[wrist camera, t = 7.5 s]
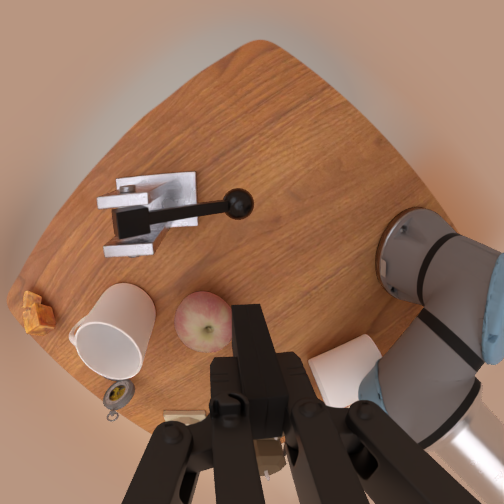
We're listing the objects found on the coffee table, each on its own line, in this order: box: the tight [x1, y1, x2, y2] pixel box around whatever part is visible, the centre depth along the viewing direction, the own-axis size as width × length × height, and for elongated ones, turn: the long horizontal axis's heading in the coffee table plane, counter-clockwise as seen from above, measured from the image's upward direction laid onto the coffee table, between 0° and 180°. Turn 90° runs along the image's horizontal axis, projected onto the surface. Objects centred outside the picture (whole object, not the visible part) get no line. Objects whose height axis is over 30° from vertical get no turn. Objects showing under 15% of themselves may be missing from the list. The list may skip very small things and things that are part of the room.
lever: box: [112, 188, 254, 240], centre depth 25 cm, size 14×3×3 cm, turn 91°
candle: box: [253, 431, 286, 481], centre depth 40 cm, size 14×14×15 cm
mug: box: [69, 283, 156, 380], centre depth 32 cm, size 9×12×11 cm
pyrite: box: [22, 291, 56, 336], centre depth 33 cm, size 5×7×4 cm
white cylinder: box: [308, 334, 382, 408], centre depth 41 cm, size 13×10×10 cm
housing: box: [163, 410, 206, 425], centre depth 45 cm, size 8×8×3 cm
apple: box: [174, 291, 232, 353], centre depth 35 cm, size 8×8×8 cm
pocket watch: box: [103, 376, 135, 421], centre depth 36 cm, size 8×8×10 cm
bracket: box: [97, 171, 199, 258], centre depth 27 cm, size 10×7×14 cm, turn 91°
